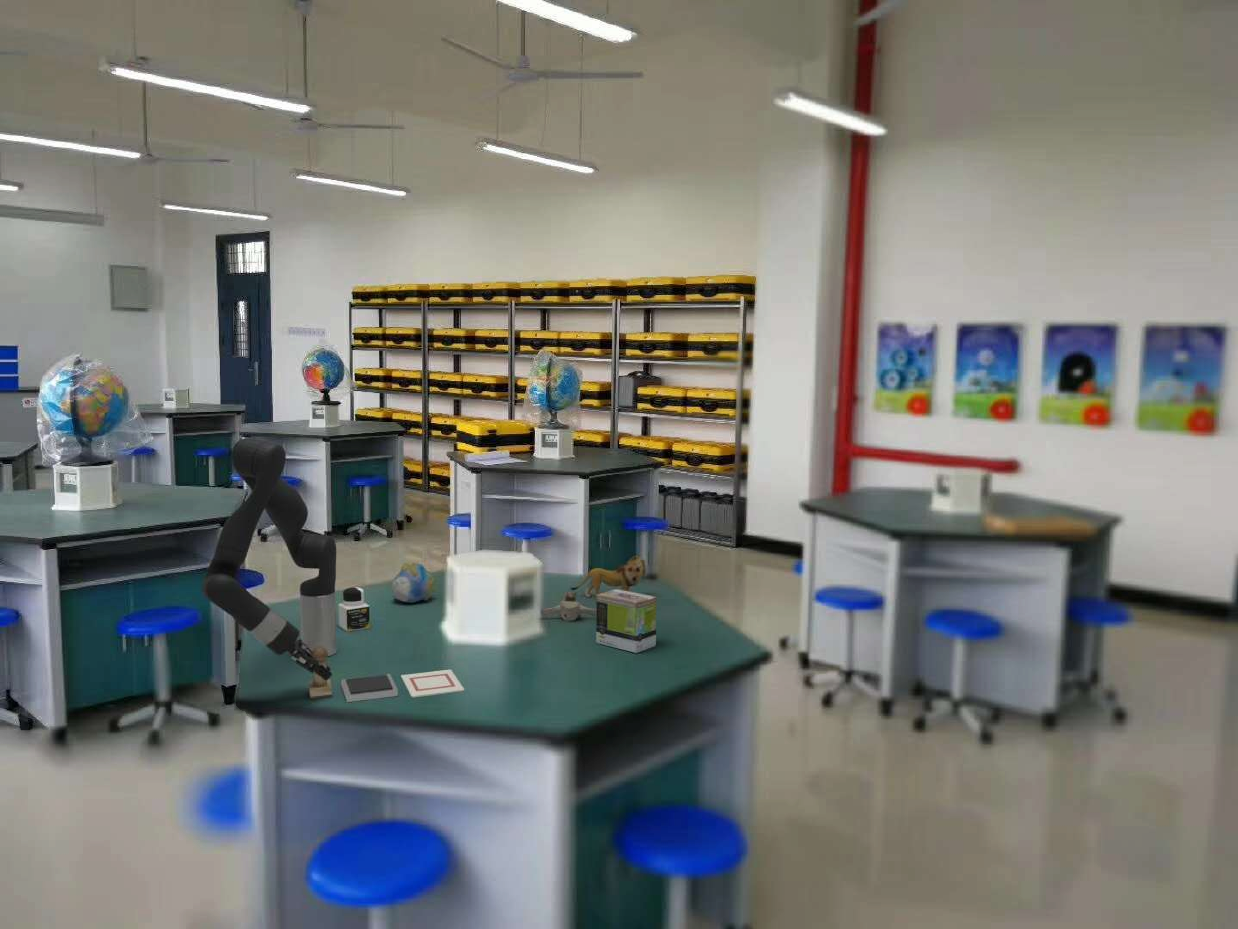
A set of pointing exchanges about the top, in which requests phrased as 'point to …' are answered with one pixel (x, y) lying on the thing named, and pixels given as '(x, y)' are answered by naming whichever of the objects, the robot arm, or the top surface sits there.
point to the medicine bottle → (353, 610)
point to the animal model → (616, 576)
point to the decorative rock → (413, 583)
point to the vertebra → (569, 608)
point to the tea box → (626, 620)
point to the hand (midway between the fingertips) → (328, 674)
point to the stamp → (319, 685)
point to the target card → (432, 683)
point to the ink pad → (369, 688)
